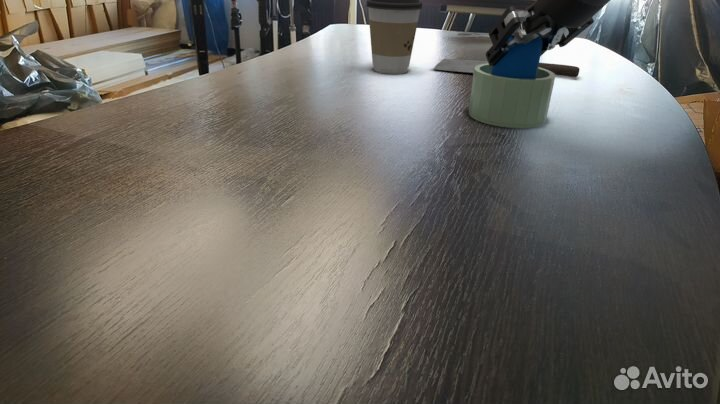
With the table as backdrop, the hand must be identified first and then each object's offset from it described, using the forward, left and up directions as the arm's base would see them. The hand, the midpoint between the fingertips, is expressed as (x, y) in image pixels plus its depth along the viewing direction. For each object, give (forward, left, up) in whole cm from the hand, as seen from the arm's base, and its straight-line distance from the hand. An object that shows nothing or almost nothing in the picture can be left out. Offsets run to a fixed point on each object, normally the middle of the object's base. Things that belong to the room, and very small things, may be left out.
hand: (508, 59), depth 75 cm
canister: (0, +1, -8) cm, 9 cm away
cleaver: (-26, -19, -9) cm, 33 cm away
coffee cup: (-6, -33, -9) cm, 34 cm away
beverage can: (0, +2, -8) cm, 8 cm away
